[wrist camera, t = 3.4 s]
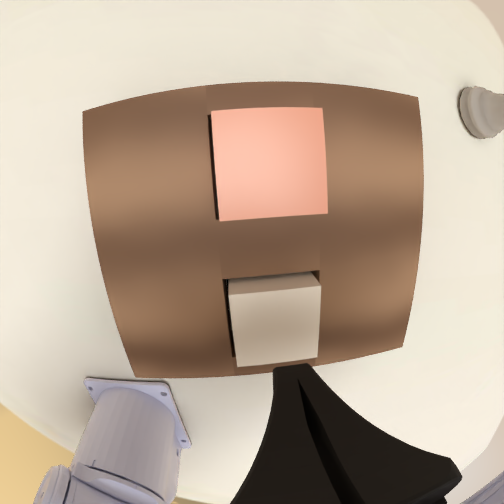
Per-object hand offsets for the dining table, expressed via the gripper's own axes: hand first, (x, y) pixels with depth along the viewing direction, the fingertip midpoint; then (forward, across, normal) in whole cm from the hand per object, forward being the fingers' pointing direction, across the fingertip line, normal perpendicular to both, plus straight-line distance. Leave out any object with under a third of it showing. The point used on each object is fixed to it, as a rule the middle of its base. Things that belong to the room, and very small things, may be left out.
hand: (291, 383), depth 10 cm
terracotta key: (+7, 0, -8) cm, 10 cm away
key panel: (+8, 0, -4) cm, 9 cm away
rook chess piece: (+8, -18, -13) cm, 24 cm away
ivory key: (+7, 0, 0) cm, 7 cm away
